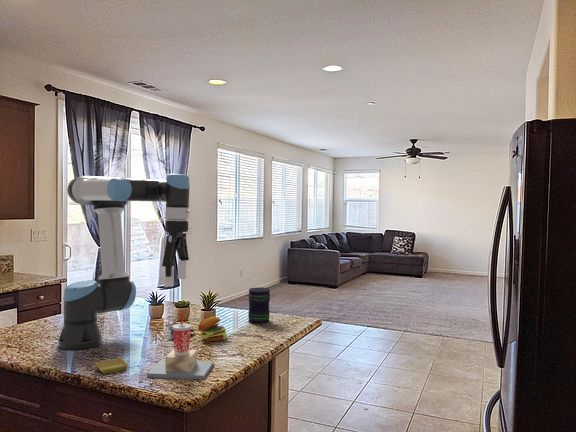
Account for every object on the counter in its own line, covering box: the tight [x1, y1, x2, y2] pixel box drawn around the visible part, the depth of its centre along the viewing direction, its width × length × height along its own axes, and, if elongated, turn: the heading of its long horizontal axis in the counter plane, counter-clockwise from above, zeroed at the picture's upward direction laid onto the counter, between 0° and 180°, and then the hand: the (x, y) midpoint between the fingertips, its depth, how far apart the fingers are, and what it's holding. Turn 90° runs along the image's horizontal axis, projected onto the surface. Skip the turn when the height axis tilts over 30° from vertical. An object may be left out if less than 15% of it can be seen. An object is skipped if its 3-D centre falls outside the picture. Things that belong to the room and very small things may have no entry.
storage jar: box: [247, 287, 271, 325], centre depth 215 cm, size 10×10×15 cm
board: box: [146, 359, 214, 380], centre depth 151 cm, size 18×13×1 cm
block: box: [164, 348, 198, 372], centre depth 151 cm, size 8×8×4 cm
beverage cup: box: [172, 309, 192, 356], centre depth 151 cm, size 6×6×14 cm
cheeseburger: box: [197, 315, 228, 342], centre depth 187 cm, size 10×11×10 cm
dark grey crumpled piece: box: [168, 322, 195, 341], centre depth 191 cm, size 12×7×12 cm
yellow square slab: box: [94, 357, 129, 375], centre depth 152 cm, size 9×9×2 cm
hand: (175, 282), depth 158 cm, fingers open, 13 cm apart
